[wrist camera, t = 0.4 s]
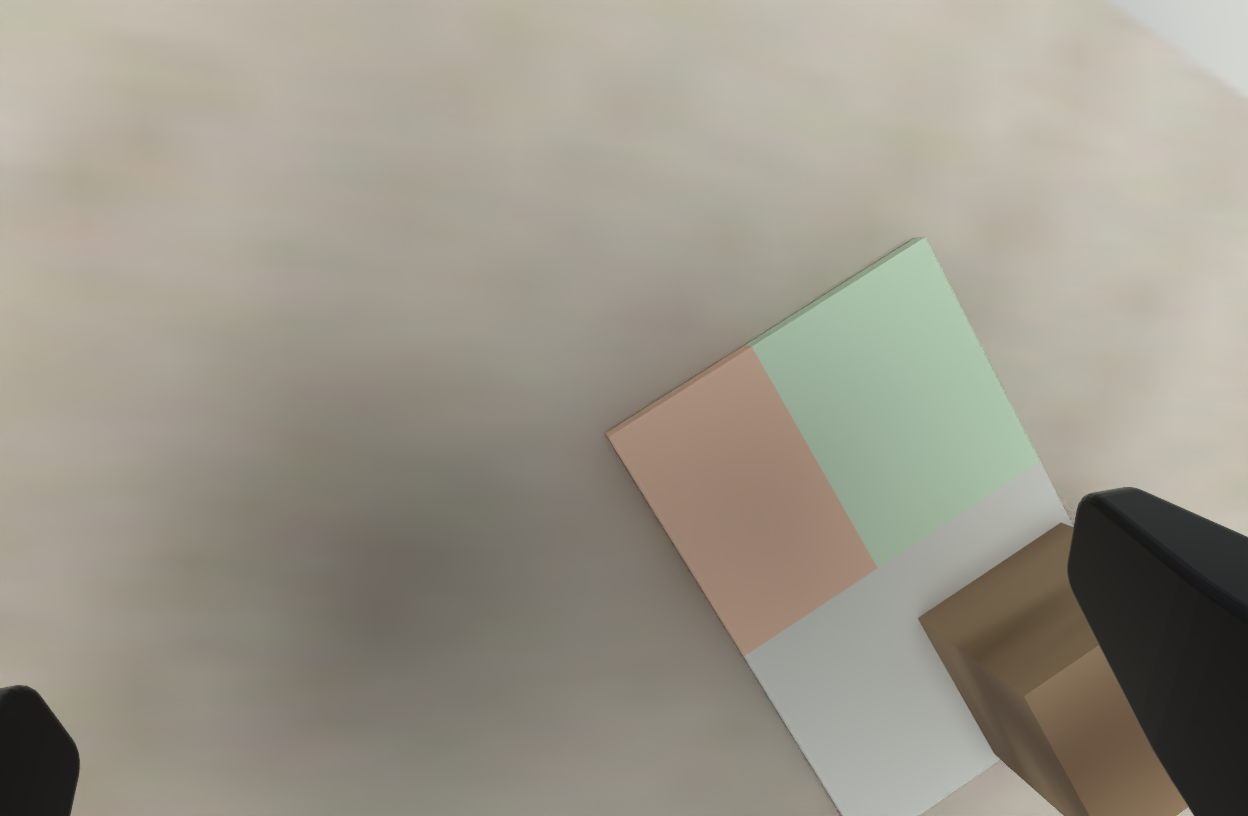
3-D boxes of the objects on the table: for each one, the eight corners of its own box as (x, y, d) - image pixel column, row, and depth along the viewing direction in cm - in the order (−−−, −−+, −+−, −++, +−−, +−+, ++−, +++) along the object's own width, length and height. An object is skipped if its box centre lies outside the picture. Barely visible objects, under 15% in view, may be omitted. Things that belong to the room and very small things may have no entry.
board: (1126, 653, 24) (1143, 661, 24) (855, 838, 24) (865, 852, 23) (913, 238, 22) (925, 236, 21) (604, 433, 21) (608, 437, 21)
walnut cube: (1131, 659, 24) (1280, 742, 19) (994, 753, 24) (1113, 859, 19) (1060, 522, 23) (1199, 576, 19) (917, 618, 23) (1023, 696, 18)
